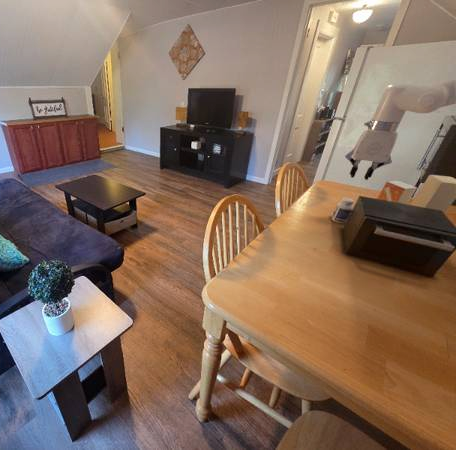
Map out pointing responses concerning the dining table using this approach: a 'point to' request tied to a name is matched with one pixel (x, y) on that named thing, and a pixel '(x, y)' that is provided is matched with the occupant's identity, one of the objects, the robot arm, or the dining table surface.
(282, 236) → the dining table surface
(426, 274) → the oven door
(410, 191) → the small box
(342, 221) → the pill bottle
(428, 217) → the oven
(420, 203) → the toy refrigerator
